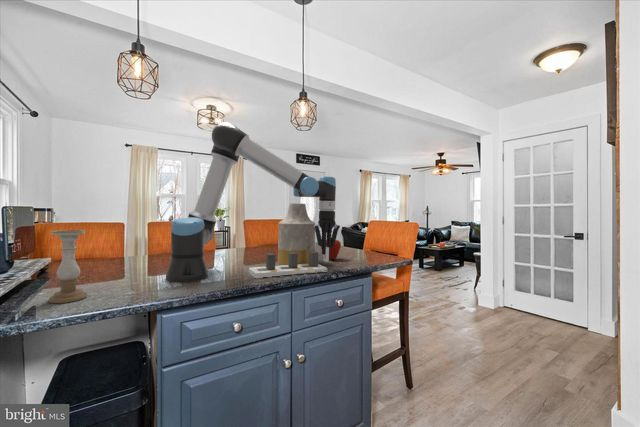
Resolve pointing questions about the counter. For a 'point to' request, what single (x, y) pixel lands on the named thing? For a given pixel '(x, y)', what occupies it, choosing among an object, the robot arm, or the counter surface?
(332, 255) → the apple
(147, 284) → the counter surface
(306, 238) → the vase
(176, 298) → the counter surface
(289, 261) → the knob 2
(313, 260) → the knob
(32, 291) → the counter surface
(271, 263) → the block
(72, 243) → the candle holder
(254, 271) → the switch board
